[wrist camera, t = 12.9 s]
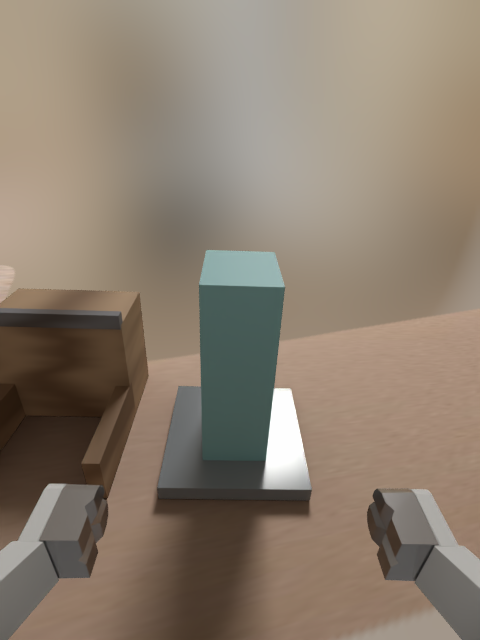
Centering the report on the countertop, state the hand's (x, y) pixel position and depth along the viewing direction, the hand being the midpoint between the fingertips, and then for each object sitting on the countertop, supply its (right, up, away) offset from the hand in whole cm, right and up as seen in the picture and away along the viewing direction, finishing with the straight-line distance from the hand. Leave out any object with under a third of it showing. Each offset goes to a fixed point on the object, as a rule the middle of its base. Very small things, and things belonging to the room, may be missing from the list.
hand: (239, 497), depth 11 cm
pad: (0, -3, +14) cm, 15 cm away
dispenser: (-12, -2, +15) cm, 20 cm away
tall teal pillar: (0, -2, +14) cm, 14 cm away
